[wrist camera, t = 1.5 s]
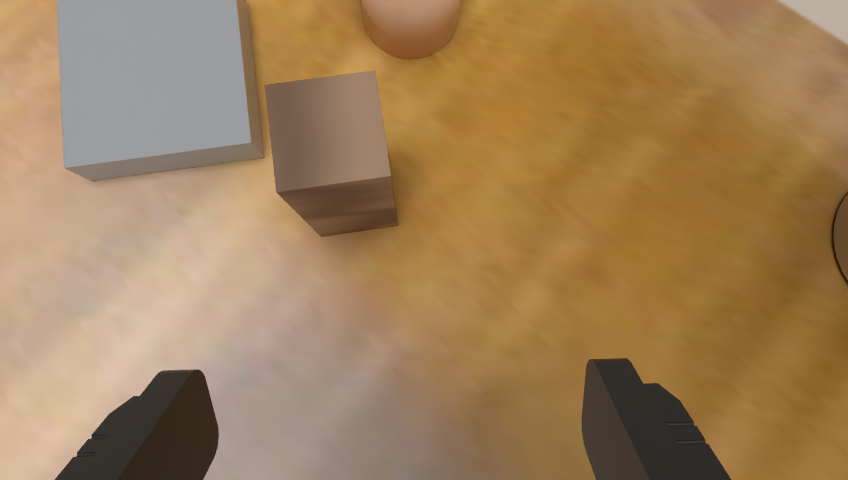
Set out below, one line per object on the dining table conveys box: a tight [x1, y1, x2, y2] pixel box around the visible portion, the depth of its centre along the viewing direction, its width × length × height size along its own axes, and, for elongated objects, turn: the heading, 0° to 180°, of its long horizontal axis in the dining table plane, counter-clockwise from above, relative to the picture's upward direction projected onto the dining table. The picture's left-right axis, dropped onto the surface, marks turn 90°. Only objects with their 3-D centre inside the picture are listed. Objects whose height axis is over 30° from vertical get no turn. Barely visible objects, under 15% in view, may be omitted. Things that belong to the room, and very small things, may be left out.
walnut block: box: [265, 71, 398, 237], centre depth 25 cm, size 4×4×10 cm
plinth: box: [57, 0, 264, 181], centre depth 30 cm, size 10×10×3 cm
